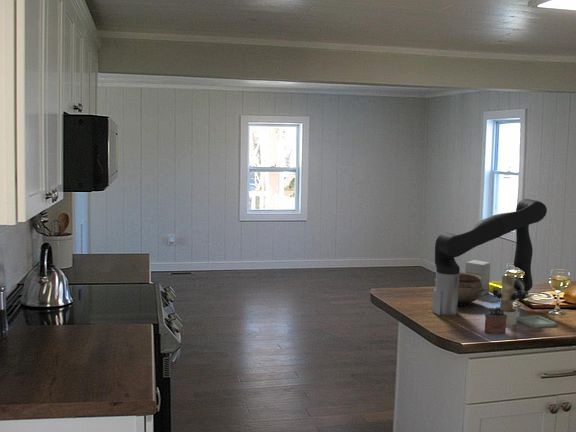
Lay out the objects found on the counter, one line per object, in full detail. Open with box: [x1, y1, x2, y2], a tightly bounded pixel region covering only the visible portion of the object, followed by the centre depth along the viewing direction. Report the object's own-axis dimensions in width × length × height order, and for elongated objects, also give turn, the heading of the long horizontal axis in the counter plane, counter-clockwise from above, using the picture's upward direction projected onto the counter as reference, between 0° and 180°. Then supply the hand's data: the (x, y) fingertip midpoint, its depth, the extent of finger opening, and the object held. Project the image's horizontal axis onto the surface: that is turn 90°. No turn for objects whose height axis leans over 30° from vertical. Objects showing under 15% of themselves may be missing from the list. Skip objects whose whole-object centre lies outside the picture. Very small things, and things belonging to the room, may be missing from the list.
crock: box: [498, 306, 519, 326], centre depth 253 cm, size 8×8×6 cm
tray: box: [517, 315, 558, 329], centre depth 253 cm, size 11×11×2 cm
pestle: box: [499, 275, 515, 312], centre depth 252 cm, size 5×5×18 cm
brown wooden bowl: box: [433, 272, 488, 306], centre depth 283 cm, size 25×19×12 cm
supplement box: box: [464, 259, 491, 297], centre depth 303 cm, size 9×9×15 cm
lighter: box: [483, 306, 507, 335], centre depth 238 cm, size 8×3×10 cm, turn 92°
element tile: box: [489, 280, 530, 294], centre depth 308 cm, size 15×15×5 cm
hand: (506, 297), depth 250 cm, fingers closed on pestle, 4 cm apart
